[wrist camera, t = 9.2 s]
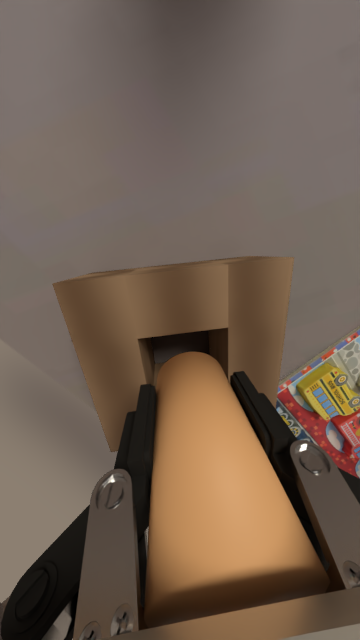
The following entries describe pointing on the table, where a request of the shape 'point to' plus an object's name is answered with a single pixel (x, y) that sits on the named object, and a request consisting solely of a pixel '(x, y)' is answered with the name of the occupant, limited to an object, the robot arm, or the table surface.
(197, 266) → the socket block
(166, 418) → the peg
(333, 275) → the table surface
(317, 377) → the puzzle board
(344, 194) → the table surface
